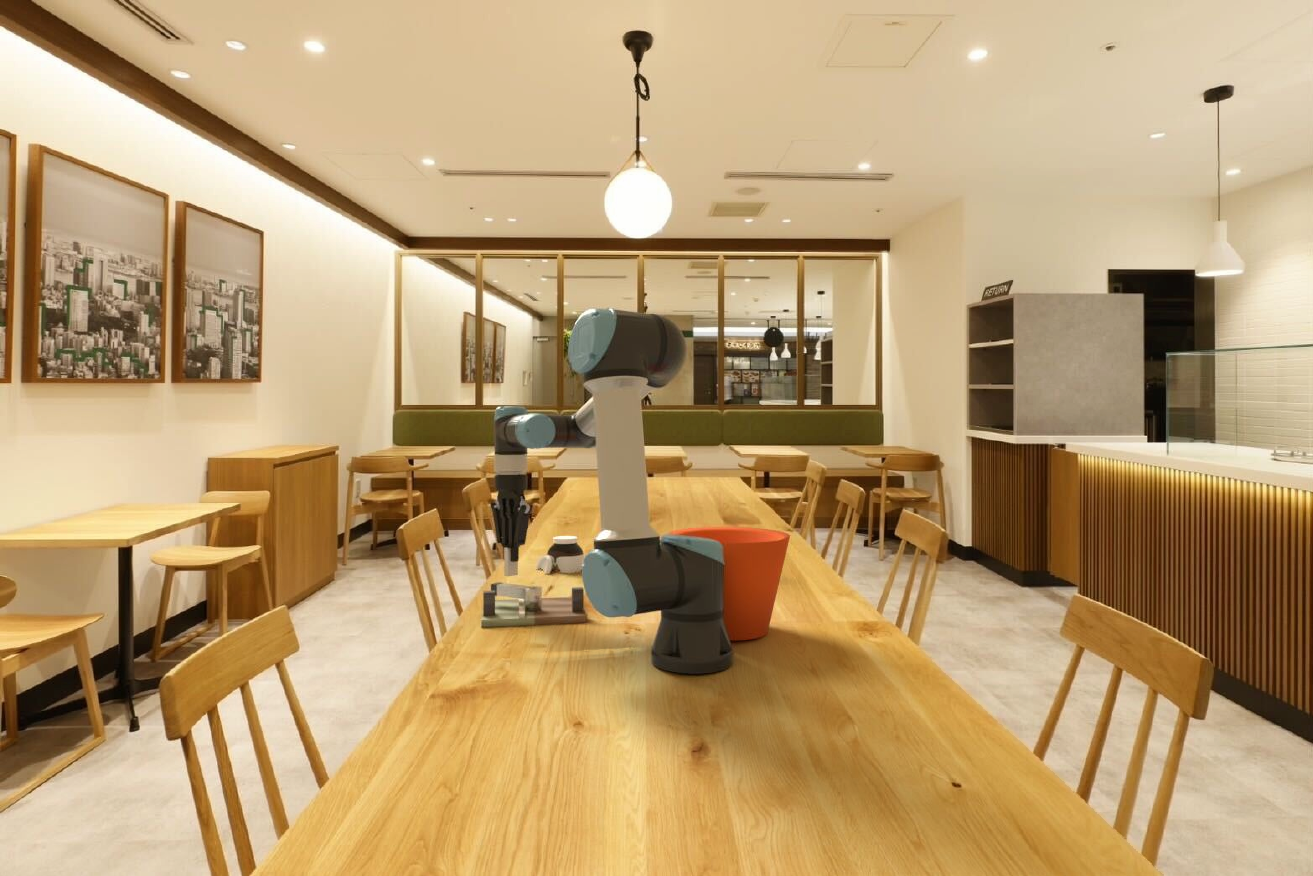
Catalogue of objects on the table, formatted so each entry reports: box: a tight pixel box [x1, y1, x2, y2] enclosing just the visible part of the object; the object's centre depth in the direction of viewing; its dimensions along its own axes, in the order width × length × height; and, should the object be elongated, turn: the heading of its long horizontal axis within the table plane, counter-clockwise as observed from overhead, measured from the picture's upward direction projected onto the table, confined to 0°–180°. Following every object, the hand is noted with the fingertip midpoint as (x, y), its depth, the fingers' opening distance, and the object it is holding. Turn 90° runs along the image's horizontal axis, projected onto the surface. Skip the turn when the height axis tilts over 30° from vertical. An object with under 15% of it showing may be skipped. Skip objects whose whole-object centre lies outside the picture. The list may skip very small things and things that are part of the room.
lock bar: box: [490, 581, 543, 611], centre depth 167 cm, size 13×4×5 cm, turn 62°
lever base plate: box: [480, 586, 587, 628], centre depth 167 cm, size 19×22×6 cm
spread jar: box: [535, 535, 585, 575], centre depth 208 cm, size 12×11×12 cm
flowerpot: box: [668, 526, 791, 641], centre depth 154 cm, size 25×25×20 cm
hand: (511, 575), depth 172 cm, fingers closed
